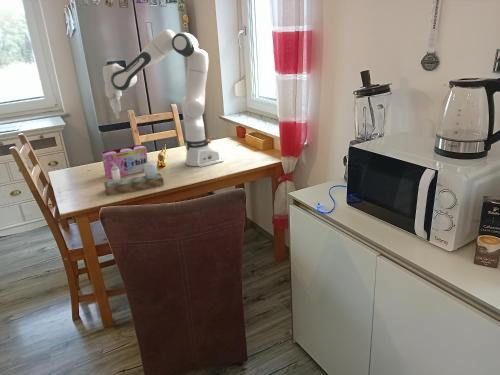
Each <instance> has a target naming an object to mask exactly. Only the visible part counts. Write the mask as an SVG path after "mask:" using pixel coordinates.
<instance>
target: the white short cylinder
mask: <svg viewBox="0 0 500 375" xmlns="http://www.w3.org/2000/svg"><path fill="white" fill-rule="evenodd" d="M143 165H144V171H143V172H144V176H145V178H146V179H154V178H157V177H158V164H157V162H155V161H148V162H147V163H144V164H143Z"/></svg>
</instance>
